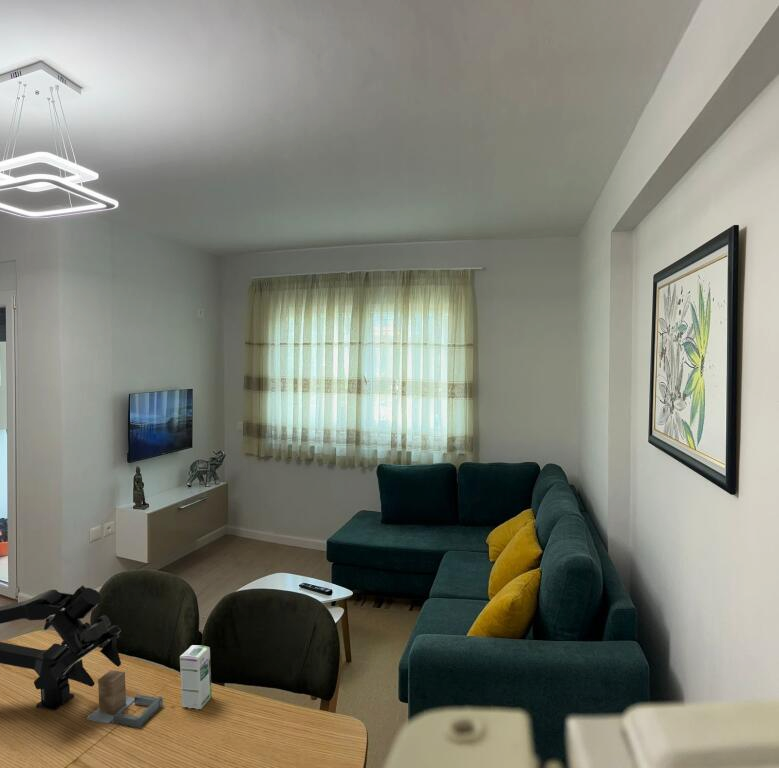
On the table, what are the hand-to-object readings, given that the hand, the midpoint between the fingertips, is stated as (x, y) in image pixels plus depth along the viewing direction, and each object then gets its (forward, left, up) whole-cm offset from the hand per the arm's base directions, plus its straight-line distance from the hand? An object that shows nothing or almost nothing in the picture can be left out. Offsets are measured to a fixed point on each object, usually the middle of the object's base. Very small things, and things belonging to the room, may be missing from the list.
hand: (107, 675), depth 143 cm
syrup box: (+21, +8, -10) cm, 25 cm away
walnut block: (+1, 0, -9) cm, 9 cm away
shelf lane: (+9, 0, -9) cm, 13 cm away
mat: (+1, 0, -9) cm, 9 cm away
